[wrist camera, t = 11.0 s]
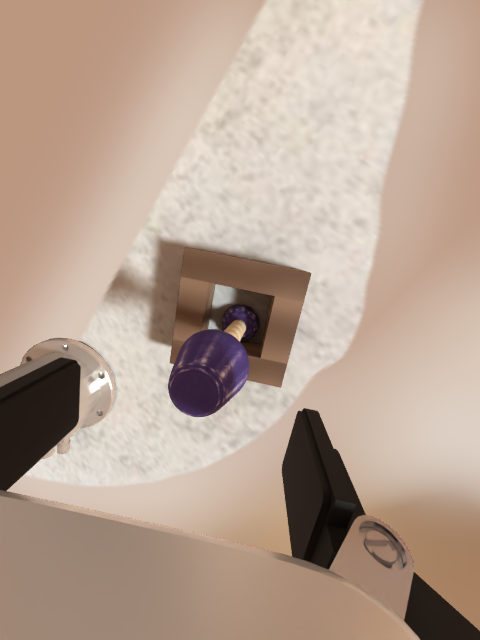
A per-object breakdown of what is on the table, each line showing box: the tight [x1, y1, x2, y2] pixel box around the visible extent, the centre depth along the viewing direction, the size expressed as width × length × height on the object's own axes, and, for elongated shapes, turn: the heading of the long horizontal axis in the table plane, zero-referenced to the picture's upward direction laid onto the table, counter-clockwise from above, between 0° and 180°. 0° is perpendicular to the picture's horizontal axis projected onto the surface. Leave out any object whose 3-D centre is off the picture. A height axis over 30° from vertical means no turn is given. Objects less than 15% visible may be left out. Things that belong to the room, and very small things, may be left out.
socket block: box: [170, 248, 311, 388], centre depth 26 cm, size 12×12×4 cm
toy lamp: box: [168, 305, 259, 417], centre depth 20 cm, size 5×5×17 cm
